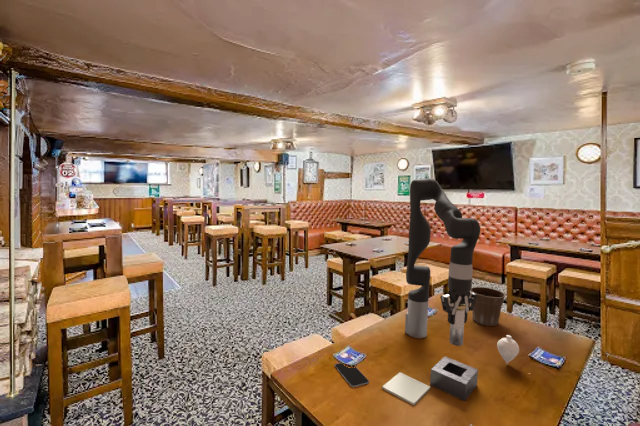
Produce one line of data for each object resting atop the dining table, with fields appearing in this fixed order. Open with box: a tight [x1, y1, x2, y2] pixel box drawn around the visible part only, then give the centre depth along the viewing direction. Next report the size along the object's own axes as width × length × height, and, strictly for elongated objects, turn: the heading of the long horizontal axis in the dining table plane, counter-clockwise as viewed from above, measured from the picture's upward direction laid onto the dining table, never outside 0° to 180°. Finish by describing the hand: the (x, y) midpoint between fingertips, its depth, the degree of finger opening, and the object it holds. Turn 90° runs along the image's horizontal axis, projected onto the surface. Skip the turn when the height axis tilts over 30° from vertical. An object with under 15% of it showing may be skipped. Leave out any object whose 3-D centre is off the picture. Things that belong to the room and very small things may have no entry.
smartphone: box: [334, 362, 370, 388], centre depth 119 cm, size 7×1×15 cm
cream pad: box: [382, 372, 431, 406], centre depth 111 cm, size 12×12×1 cm
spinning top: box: [496, 334, 520, 365], centre depth 127 cm, size 8×8×12 cm
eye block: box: [429, 356, 479, 402], centre depth 113 cm, size 12×12×6 cm
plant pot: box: [470, 286, 506, 327], centre depth 167 cm, size 16×16×16 cm
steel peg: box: [448, 303, 466, 347], centre depth 112 cm, size 5×5×14 cm
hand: (457, 322), depth 112 cm, fingers closed on steel peg, 4 cm apart
